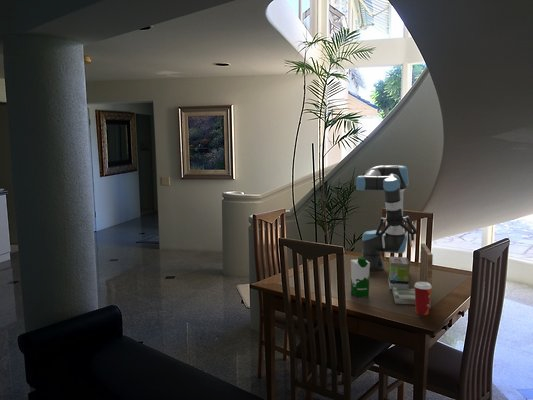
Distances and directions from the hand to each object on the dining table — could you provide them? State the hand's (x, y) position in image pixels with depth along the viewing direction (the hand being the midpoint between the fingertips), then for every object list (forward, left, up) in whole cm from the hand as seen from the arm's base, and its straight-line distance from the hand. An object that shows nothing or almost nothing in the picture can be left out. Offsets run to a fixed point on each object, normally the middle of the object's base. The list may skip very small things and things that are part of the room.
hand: (397, 246), depth 233 cm
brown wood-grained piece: (+6, +5, -25) cm, 26 cm away
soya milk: (+4, -19, -26) cm, 32 cm away
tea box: (-14, +2, -26) cm, 29 cm away
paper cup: (+25, +9, -26) cm, 37 cm away
